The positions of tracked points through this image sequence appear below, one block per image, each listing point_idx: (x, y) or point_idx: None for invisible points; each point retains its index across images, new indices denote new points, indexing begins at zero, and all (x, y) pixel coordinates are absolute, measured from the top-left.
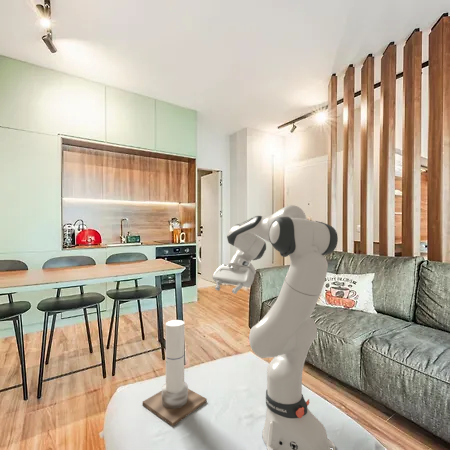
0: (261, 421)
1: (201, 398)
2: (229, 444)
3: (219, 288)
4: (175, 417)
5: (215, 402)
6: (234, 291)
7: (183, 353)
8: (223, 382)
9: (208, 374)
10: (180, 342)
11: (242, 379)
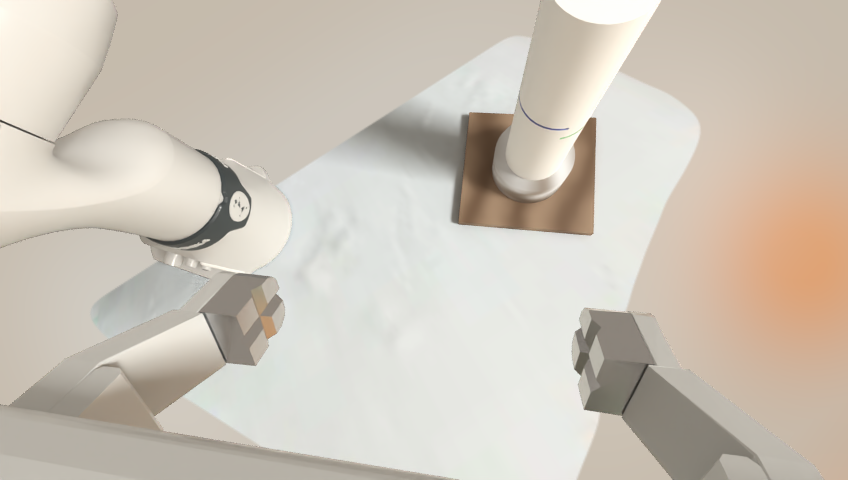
0: (306, 240)
1: (471, 215)
2: (338, 148)
3: (583, 366)
4: (477, 127)
5: (437, 235)
6: (224, 272)
7: (523, 102)
8: (473, 330)
9: (547, 344)
10: (530, 46)
11: (429, 381)
